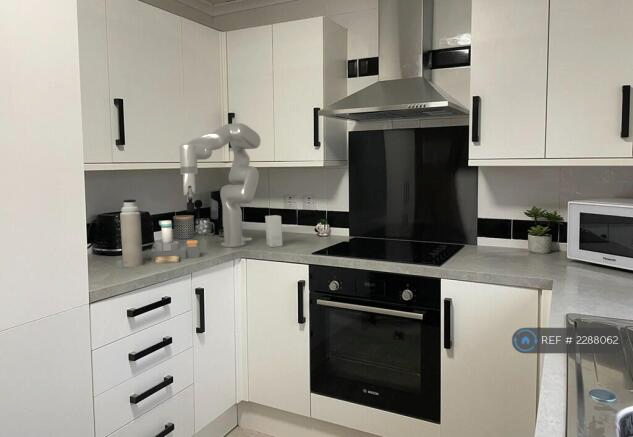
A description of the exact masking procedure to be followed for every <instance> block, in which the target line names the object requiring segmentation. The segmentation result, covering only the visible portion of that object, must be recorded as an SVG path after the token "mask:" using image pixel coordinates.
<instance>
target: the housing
mask: <svg viewBox="0 0 633 437" xmlns="http://www.w3.org/2000/svg"><path fill="white" fill-rule="evenodd" d="M179 244H180V242H179V241H176V240H172V243H170V244H162V241H159V242H158V241H157V242H156V243H155V248H151V251H150V258H151V259H150V260H151V261H155V258H156V257H166V256H179V260H184V259H189V258H200V245H199V244H198V243H196V244H197V246H191V247H188V244H185V246H179Z"/></svg>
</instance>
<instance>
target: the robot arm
mask: <svg viewBox="0 0 633 437" xmlns="http://www.w3.org/2000/svg"><path fill="white" fill-rule="evenodd" d="M228 144H230V147H231V150H232V152H233V160H232V161H233V162H232V165H231V167H230V171H229V174H228V181H229V182H230V183H231V184H226V185H223V187H221V189H220V191H219V194H220V200H221V205H222V220H223V221H222V222H223V242H221V244H220V245H221V247H223V248H238V247H239V248H240V247H245V246H246V244H247V243H246V242H252V239H253V238H252V237H246V236H245V237H244V235H243V216H242V215H243V213H242V209H241V206H240V205H239V204H250V203H251V202H252V201H253V199H254V196H255V194H256V190H257V187H258V182H259V180H260V179H259V178H260V177H259V176H260V174H259V170H258V168H256V167H255V166H251V165H250V162H251V160H250V159H251V158H250V156H249V154H248V152H247V151H246V150H255V149H258V148H259V147H260V146H261V136H260V135H259V134H258V133H257V132H256V131H255V130H254V129H253V128H251V127H250V126H248V125H246V124H244V123H226V124H224V125H222V126H220V127H219V128H218V129H215V130H214V131H212V132H211V133H207V134H204V135H202V136H199V137H196V138H193V139H191V140H190V141H188V142H186V143H181V144H180V145H179V165H180V166H179V167H180V175H182V185H183V196H184V197H186V199H187V200H186V212H189V213H191V212H195V201H194V196H195V194H196V175H198V160H199V161H202V160H208V159H209V158H211V156H212V154H213V151H216V150H220V149H222V148H224V147H225V146H226V145H228Z"/></svg>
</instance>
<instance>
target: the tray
mask: <svg viewBox="0 0 633 437" xmlns="http://www.w3.org/2000/svg"><path fill="white" fill-rule="evenodd" d="M169 263H170V264H171V263H172V264H173V263H180V259H179V256H166V257H156V258H155V260H154V264H155V265H156V264H169Z"/></svg>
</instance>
